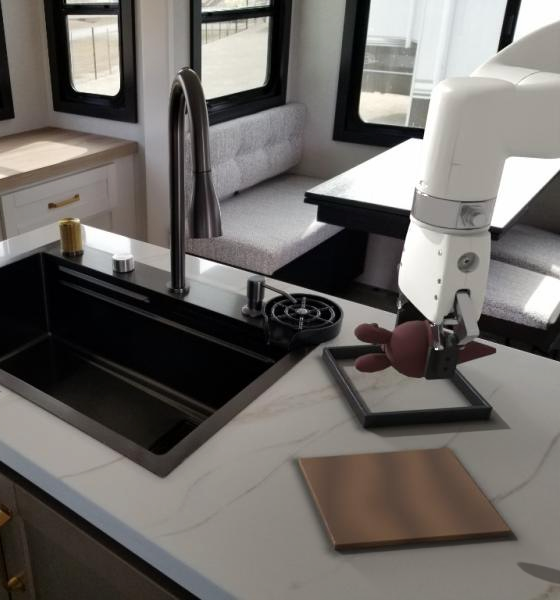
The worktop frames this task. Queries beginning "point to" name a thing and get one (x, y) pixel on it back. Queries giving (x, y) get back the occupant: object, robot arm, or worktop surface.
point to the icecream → (407, 348)
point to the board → (398, 499)
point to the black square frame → (408, 417)
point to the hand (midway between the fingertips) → (421, 357)
